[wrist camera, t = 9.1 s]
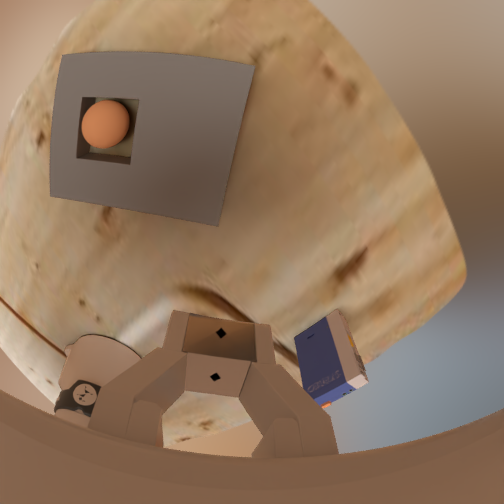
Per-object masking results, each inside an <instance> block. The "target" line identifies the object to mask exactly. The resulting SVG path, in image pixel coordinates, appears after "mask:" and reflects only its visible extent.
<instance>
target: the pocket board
mask: <svg viewBox="0 0 504 504" xmlns="http://www.w3.org/2000/svg"><path fill="white" fill-rule="evenodd" d="M254 70H255V66H252V65H247V64H243V63H237V62H232V61H226V60H220V59H214V58H207V57H200V56H191V55H182V54H171V53H156V52H90V53H76V54H66V55H62V59H61V63H60V68H59V74H58V79H57V85H56V92H55V99H54V107H53V116H52V127H51V142H50V196H51V197H57V198H63V199H69V200H75V201H81V202H87V203H93V204H98V205H104V206H110V207H116V208H121V209H127V210H132V211H138V212H144V213H149V214H154V215H160V216H165V217H171V218H176V219H181V220H187V221H192V222H197V223H202V224H207V225H213V226H218V225H219V220H220V215H221V210H222V206H223V201H224V196H225V192H226V187H227V182H228V178H229V173H230V169H231V164H232V160H233V155H234V151H235V147H236V142H237V138H238V134H239V130H240V125H241V121H242V117H243V113H244V109H245V105H246V101H247V97H248V93H249V89H250V85H251V81H252V78H253V74H254ZM96 97H106V98H125V99H139V106H138V112H137V118H136V124H135V131H134V138H133V145H132V153H131V157H123V156H115V155H107V154H98V153H89V149H90V144H89V143H88V142H87V141H86V140H85V138H84V136H83V133H82V120H83V117H84V115H85V113H86V112H87V110H88V109H89V108H90V107H91V106H92V105H94V104H95V98H96Z"/></svg>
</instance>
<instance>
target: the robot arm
mask: <svg viewBox="0 0 504 504" xmlns="http://www.w3.org/2000/svg"><path fill="white" fill-rule="evenodd" d="M65 354H66V356H67V360H66V362H65V365H64V367H63V370H62V373H61V376H60V379H59V385H60V388H61V390H62V391H61V392H60V395H59V397H58V398H57V400H56V405H55V408H54V412H55V415H52V414H49V413H47V412H45V411H42V410H40V409H38V408H36V407H34V406H31V405H29V404H27V403H25V402H23V401H21V400H19V399H17V398H15V397H13V396H11V395H10V394H8V393H6V392H4V391H2V390H0V504H504V408H503V409H501V410H499V411H497V412H495V413H493V414H490V415H488V416H486V417H483V418H481V419H479V420H476V421H473V422H471V423H468V424H466V425H463V426H460V427H457V428H454V429H451V430H448V431H445V432H442V433H439V434H436V435H432V436H429V437H425V438H422V439H418V440H414V441H410V442H406V443H402V444H398V445H393V446H388V447H383V448H377V449H372V450H366V451H359V452H353V453H345V454H339V452H338V449H337V443H336V439H335V435H334V430H333V426H332V422H331V418H330V416H329V415H328V414H327V413H326V412H325V411H324V410H323V409H322V408H321V407H320V406H319V405H318V404H317V403H316V402H315V401H314V399H313V398H312V397H311V396H310V395H309V394H308V393H307V392H306V391H305V390H304V389H303V388H302V387H301V386H300V385H299V384H298V383H297V382H296V381H295V380H294V379H293V377H292V376H291V375H290V374H289V373H288V372H287V371H286V370H285V369H284V368H283V367H282V366H281V365H278V364H276V361H275V354H274V347H273V339H272V332H271V327H270V325H267V324H258V323H247V322H240V321H233V320H226V319H219V318H214V317H208V316H203V315H198V314H193V313H186V312H181V311H176V310H173V312H172V314H171V318H170V321H169V325H168V329H167V333H166V336H165V340H164V344H163V348H158V347H157V348H156V349H155V350H153V351H152V352H151V353H149V354H148V355H146V356H145V357H144V358H142V359H141V358H140V357H139V356H138V355H137V354H136V353H135V352H133V351H132V350H131V349H129V348H128V347H126V346H125V345H123V344H121V343H119V342H117V341H115V340H112V339H109V338H106V337H103V336H97V335H87V336H83V337H81V338H79V339H78V340H77V341H76V343H75V344H72V345H68V346H66V348H65ZM184 390H186V391H193V392H201V393H210V394H217V395H224V396H231V397H239V400H240V402H241V403H242V405H243V406H244V408H245V409H246V411H247V413H248V414H249V416H250V417H251V419H252V420H253V422H254V423H255V425H256V426H257V428H258V429H259V431H260V432H261V434H262V435H263V438H262V439H261V441H260V442H259V444H258V446H257V447H256V448H255V450H254V451H253V453H252V457H233V456H220V455H209V454H201V453H193V452H186V451H180V450H173V449H168V448H163V445H164V444H163V431H162V415H163V413H164V412H165V411H166V410H167V409H168V408H169V407H170V406H171V405H172V404H173V403H174V402H175V401H176V400H177V399H178V398H179V397H180V396H181V395H182V393H183V392H184Z"/></svg>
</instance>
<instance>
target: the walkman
mask: <svg viewBox="0 0 504 504" xmlns="http://www.w3.org/2000/svg"><path fill="white" fill-rule="evenodd" d="M294 339H295V345H296V350H297V356H298V361H299V367H300V372H301V378H302V384H303V389H304V390H305V391H306V392H307V393H308V394H309V395H310V396H311V397H312V398H313V399H314V401H315V402H316V403H317V404H318V405H319V406H320V407H321V408H325V407H327V406H329V405H331V403H332V402H333V401H336V400H337V399H339V398H341V397H343V396H345V395H347V394H349V393H351V392H352V391H354V390H356V389H358V388H360V387H361V386H363V385H365V384H367V383H368V382H369V381H368V378H367V375H366V373H365V371H366V370H365V367H364V365H363V362H362V359H361V356H360V355H359V353H358V351H357V348H356V345H355V343H354V340H353V337H352V335H351V332H350V330H349V327H348V325H347V322H346V319H345V318H344V317H343V315H342V313H341V312H340V311H339V310H338V309H336V310H335V311H333V312H332V313H330V314H329V315H327V316H326V317H325V318H323V319H322V320H320V321H319V322H317V323H316V324H314V325H313V326H311V327H310V328H308V329H307V330H305V331H304V332H302V333H301V334H299V335H298V336H296V337H295V338H294Z"/></svg>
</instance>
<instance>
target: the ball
mask: <svg viewBox="0 0 504 504" xmlns="http://www.w3.org/2000/svg"><path fill="white" fill-rule="evenodd" d="M129 122H130V121H129V114H128V112H127V110H126V108H125V107H124V106H123V105H122V104H121V103H119V102H117V101H114V100H103V101H99V102H97V103H95V104H94V105H92V106H91V107H90V108H89V109H88V110H87V112H86V113H85V115H84V117H83V120H82V133H83V136H84V138H85V140H86V141H87V142H88V143H89V144H90V145H92V146H94V147H96V148H109V147H112V146H114V145H116V144H118V143H119V142H120V141H121V140H122V139H123V138H124V137H125V135H126V133H127V131H128V128H129Z"/></svg>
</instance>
